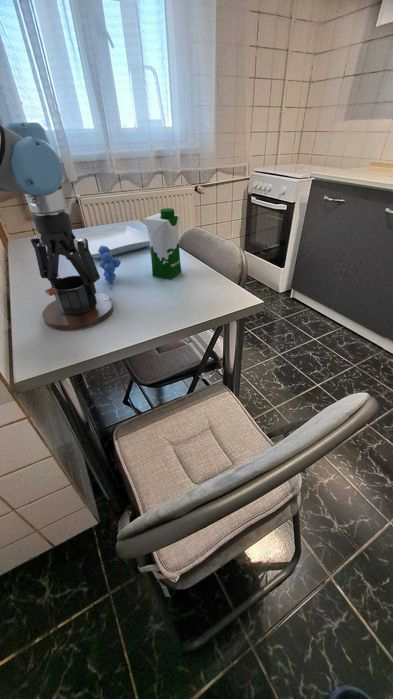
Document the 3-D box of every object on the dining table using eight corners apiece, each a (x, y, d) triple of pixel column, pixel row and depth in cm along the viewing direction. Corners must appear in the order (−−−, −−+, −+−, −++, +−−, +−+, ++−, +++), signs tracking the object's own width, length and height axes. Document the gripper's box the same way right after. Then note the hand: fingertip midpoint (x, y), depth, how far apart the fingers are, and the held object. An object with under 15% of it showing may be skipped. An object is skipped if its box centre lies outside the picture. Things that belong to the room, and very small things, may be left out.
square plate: (70, 245, 125) (67, 236, 123) (128, 233, 138) (127, 224, 136) (93, 263, 108) (90, 252, 105) (157, 247, 120) (156, 237, 118)
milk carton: (171, 281, 93) (165, 213, 81) (148, 276, 97) (139, 211, 85) (185, 271, 99) (182, 207, 87) (162, 267, 103) (156, 205, 91)
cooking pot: (108, 302, 79) (102, 278, 75) (65, 321, 72) (56, 296, 68) (89, 293, 84) (83, 270, 80) (47, 310, 77) (38, 286, 73)
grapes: (128, 286, 91) (121, 247, 84) (106, 291, 89) (97, 251, 82) (120, 273, 100) (114, 237, 92) (100, 277, 98) (91, 240, 90)
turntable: (50, 338, 69) (47, 332, 68) (39, 307, 82) (37, 302, 81) (123, 317, 76) (122, 311, 75) (103, 291, 89) (101, 286, 88)
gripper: (-3, 214, 63) (36, 307, 77) (82, 217, 59) (106, 315, 73) (22, 206, 69) (53, 294, 83) (101, 209, 65) (120, 301, 78)
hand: (78, 304), depth 78 cm, fingers closed on cooking pot, 8 cm apart
